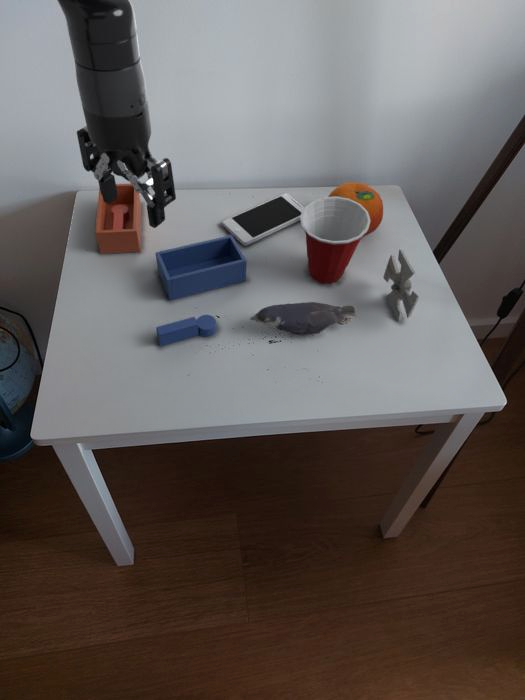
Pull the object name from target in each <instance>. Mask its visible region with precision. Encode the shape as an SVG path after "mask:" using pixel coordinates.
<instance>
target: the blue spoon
mask: <svg viewBox="0 0 525 700" xmlns="http://www.w3.org/2000/svg"><path fill="white" fill-rule="evenodd" d="M155 329H156V337H157V341H158V343H159V346H160V347H164V346H167V345H171V344H174V343H178V342H182V341H185V340H189V339H192V338H196V337H199V336H201V337H203V338H204V337H205V338H208V337H212V336H213V335H214V334H216V332H217V320H216V318H215V317H214V316H212V315H210V314H203V315H200V316H198V318H197V319H196V317H195V316H192V317H187V318H184V319H180V320H177V321H174V322H170V323H167V324H162V325H159V326H156V327H155Z"/></svg>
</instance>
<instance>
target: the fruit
mask: <svg viewBox="0 0 525 700" xmlns="http://www.w3.org/2000/svg"><path fill="white" fill-rule="evenodd" d="M335 196H336V197H342V198H348V199H351V200H353V201H355V202H357V203H359V204H361V205H362V206H363V207H364V208H365V209H366V210H367V211H368V214H369V217H370V220H371V221H370V225H369V228H368V231H367V232H366V233H365V234H364V235H363V236H362V238H364V237H366V236H368V235H371V234H372V233H374V232H375V231H376V230H377V229H379V226H380V225H381V223H382V220H383V218H384V202H383V200H382V197H381V195H380V193H378V192H377V191H376V190H375V189H374V188H373V187H371V186H370V185H368V184H366V183H363V182H352V181H350V182H344V183H341V184H339V185H338V186H336V188H334V189H333V190H332V191H331V192H330V193H329V195H328V196H327V197H335Z"/></svg>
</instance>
